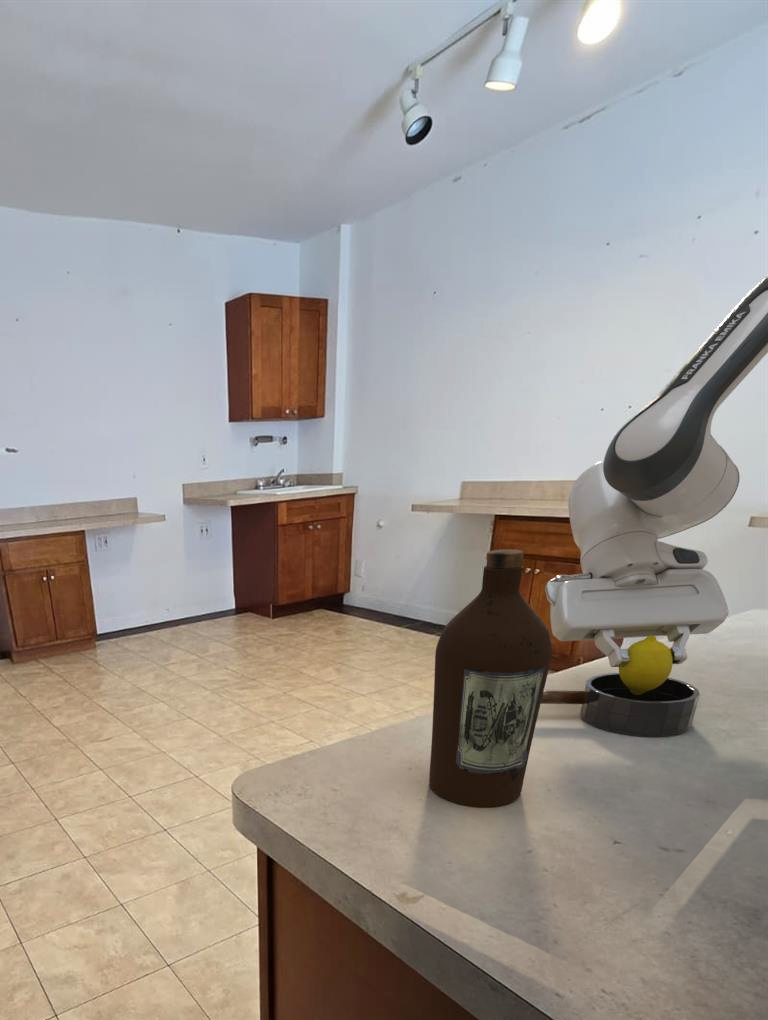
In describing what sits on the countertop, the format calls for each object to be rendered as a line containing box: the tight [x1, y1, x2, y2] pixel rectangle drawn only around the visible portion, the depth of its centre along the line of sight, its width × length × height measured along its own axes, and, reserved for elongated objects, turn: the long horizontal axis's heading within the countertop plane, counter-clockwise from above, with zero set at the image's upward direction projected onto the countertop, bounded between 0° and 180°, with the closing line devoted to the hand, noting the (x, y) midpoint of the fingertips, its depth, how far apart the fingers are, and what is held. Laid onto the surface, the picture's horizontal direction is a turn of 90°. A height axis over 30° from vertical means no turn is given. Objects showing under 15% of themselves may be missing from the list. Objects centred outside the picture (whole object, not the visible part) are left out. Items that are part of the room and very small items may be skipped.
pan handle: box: [540, 689, 588, 705], centre depth 86 cm, size 11×2×2 cm, turn 77°
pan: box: [579, 672, 701, 738], centre depth 83 cm, size 12×12×4 cm
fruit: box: [618, 634, 674, 695], centre depth 81 cm, size 6×6×8 cm
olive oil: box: [428, 548, 553, 808], centre depth 65 cm, size 11×11×25 cm
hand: (649, 663), depth 80 cm, fingers closed on fruit, 5 cm apart
